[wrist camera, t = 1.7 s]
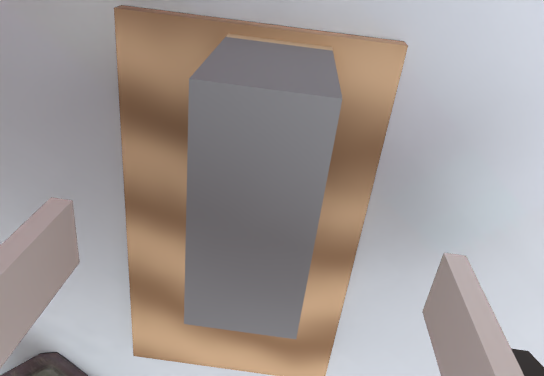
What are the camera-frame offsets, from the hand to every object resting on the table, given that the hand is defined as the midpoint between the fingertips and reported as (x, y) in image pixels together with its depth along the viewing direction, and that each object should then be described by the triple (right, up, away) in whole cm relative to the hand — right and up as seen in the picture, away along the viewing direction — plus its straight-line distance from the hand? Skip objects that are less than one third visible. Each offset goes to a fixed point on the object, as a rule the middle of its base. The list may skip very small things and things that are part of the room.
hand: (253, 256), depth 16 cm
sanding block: (0, +5, +8) cm, 9 cm away
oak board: (-1, 0, +12) cm, 12 cm away
